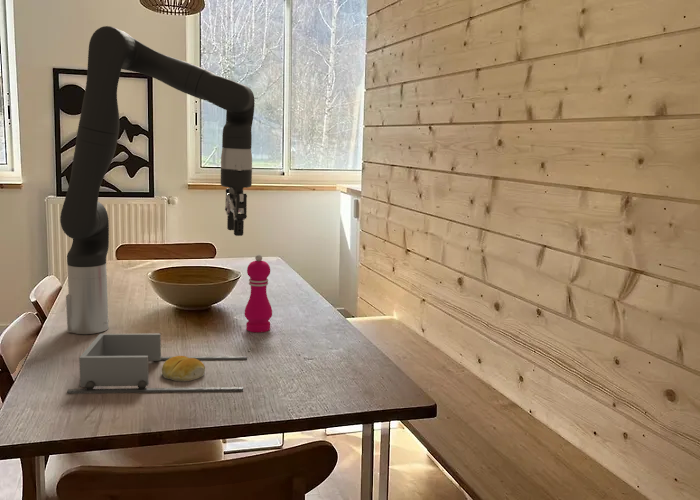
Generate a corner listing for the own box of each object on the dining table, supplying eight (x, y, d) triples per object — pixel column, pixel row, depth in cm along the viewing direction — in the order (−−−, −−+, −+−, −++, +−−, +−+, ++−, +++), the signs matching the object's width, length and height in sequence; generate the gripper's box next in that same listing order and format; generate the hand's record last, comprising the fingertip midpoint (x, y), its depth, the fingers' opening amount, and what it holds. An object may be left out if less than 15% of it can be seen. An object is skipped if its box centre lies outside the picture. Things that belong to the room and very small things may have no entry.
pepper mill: (267, 334, 173) (267, 258, 170) (240, 331, 175) (240, 256, 171) (275, 326, 180) (276, 253, 177) (250, 324, 182) (250, 251, 178)
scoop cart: (79, 390, 133) (77, 359, 131) (102, 359, 150) (101, 332, 149) (146, 389, 134) (146, 358, 133) (161, 359, 151) (161, 332, 150)
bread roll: (181, 365, 149) (181, 348, 148) (211, 374, 144) (211, 356, 144) (152, 376, 142) (152, 358, 142) (182, 385, 138) (182, 367, 137)
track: (67, 393, 131) (66, 391, 131) (94, 359, 151) (94, 357, 151) (243, 391, 135) (243, 388, 135) (247, 358, 155) (247, 356, 155)
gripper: (216, 164, 169) (215, 228, 172) (226, 168, 156) (225, 237, 159) (245, 165, 172) (244, 228, 175) (258, 169, 159) (256, 237, 162)
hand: (235, 232), depth 167 cm, fingers open, 8 cm apart
